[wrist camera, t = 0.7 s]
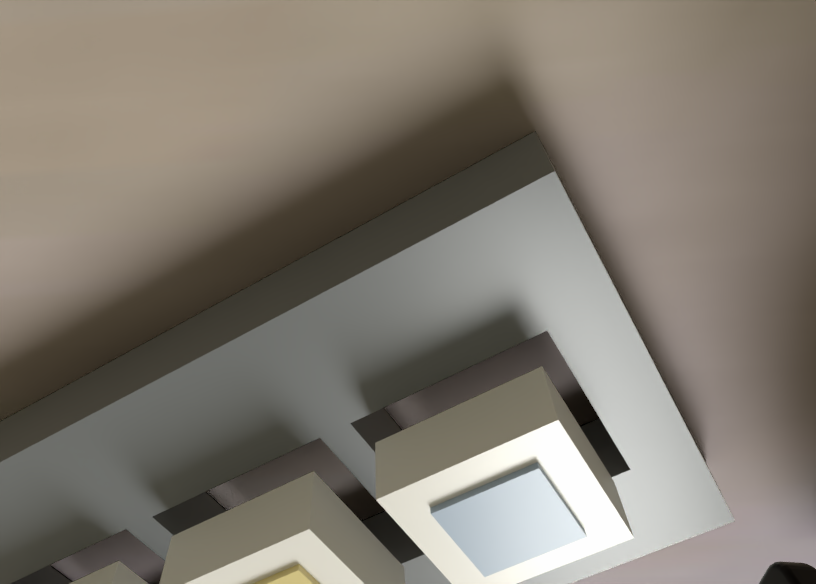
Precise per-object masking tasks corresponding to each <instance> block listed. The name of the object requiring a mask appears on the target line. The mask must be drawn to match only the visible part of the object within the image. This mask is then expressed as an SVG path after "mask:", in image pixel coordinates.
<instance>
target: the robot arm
mask: <svg viewBox="0 0 816 584" xmlns="http://www.w3.org/2000/svg"><path fill="white" fill-rule="evenodd" d="M759 584H816V569H815V568H813V567H812V566H810V565H808V564H805V563H794V562H775V563H773V564H772V565H770V567H769V568H768V569H767V571H766V573H765V574H764V576H763V578H762V579H761V581H760V583H759Z"/></svg>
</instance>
